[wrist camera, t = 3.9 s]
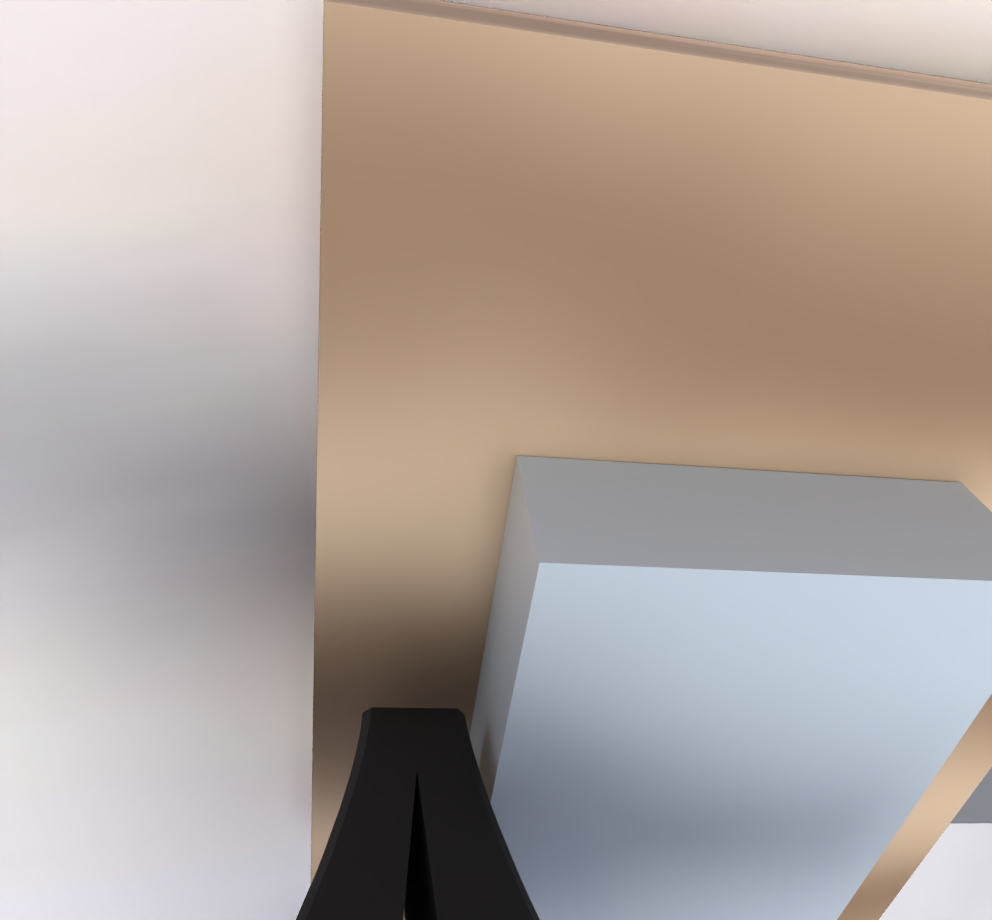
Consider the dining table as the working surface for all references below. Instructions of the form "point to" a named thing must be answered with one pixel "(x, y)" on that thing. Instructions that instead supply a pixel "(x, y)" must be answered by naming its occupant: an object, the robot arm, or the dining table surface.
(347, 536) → the tan flat wooden block
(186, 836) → the dining table surface
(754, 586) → the tile
